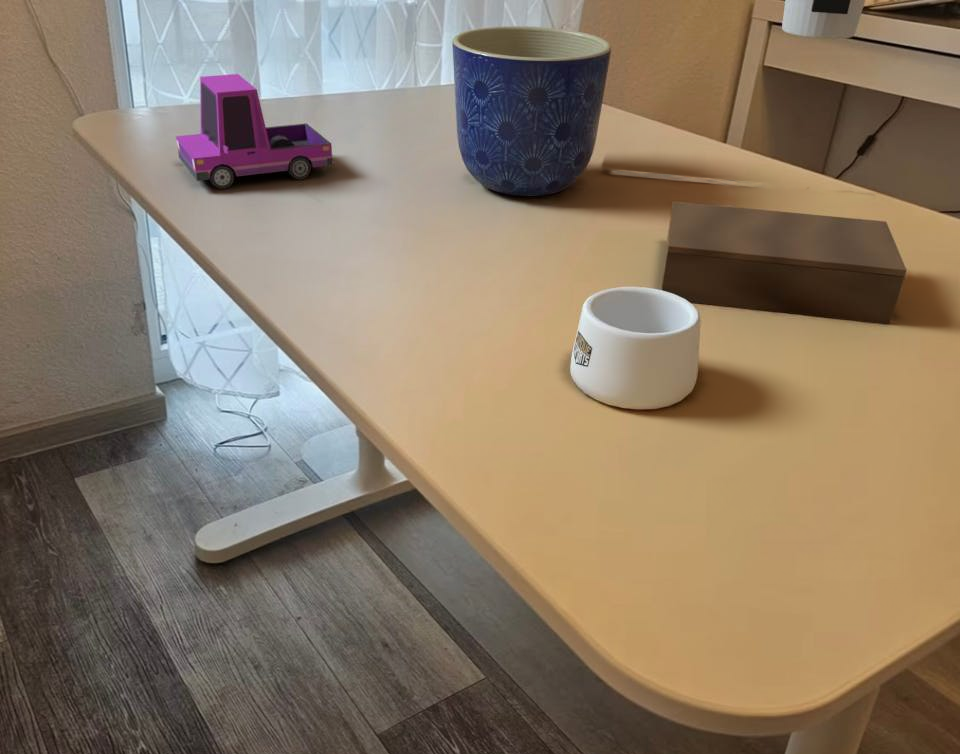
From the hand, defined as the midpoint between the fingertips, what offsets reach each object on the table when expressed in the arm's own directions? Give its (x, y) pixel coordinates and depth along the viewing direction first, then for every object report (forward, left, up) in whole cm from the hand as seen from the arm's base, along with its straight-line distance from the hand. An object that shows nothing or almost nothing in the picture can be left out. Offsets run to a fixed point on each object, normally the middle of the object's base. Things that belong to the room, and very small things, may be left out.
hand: (824, 3), depth 78 cm
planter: (+27, -19, -23) cm, 40 cm away
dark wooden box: (0, +3, -23) cm, 23 cm away
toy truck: (+58, -14, -23) cm, 64 cm away
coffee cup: (0, 0, -2) cm, 2 cm away
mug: (+12, +24, -23) cm, 36 cm away
